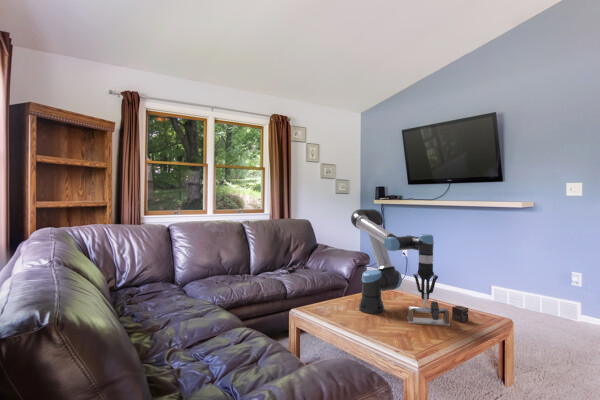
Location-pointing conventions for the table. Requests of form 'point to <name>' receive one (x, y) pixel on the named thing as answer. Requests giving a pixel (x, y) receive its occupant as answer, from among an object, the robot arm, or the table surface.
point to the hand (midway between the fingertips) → (425, 305)
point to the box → (460, 314)
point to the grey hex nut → (435, 310)
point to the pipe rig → (426, 320)
